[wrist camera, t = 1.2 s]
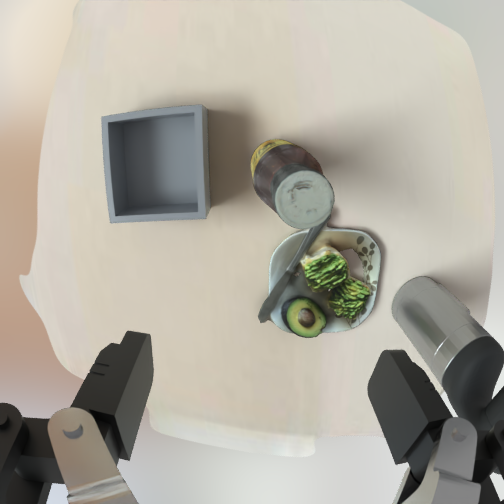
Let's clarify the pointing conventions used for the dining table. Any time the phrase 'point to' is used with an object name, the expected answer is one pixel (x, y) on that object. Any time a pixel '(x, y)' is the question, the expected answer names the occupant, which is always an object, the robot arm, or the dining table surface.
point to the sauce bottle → (291, 183)
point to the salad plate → (321, 281)
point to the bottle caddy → (157, 164)
